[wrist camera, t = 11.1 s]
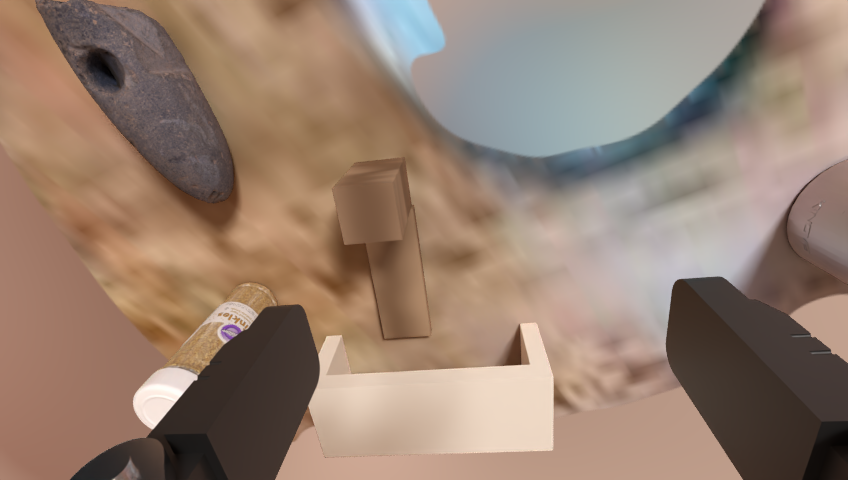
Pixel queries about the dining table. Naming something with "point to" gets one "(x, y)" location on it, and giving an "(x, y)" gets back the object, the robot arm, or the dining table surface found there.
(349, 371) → the shelf
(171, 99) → the perforated stone tool
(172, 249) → the dining table surface
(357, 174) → the brown l-shaped block
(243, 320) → the sprinkles bottle
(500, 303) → the dining table surface
